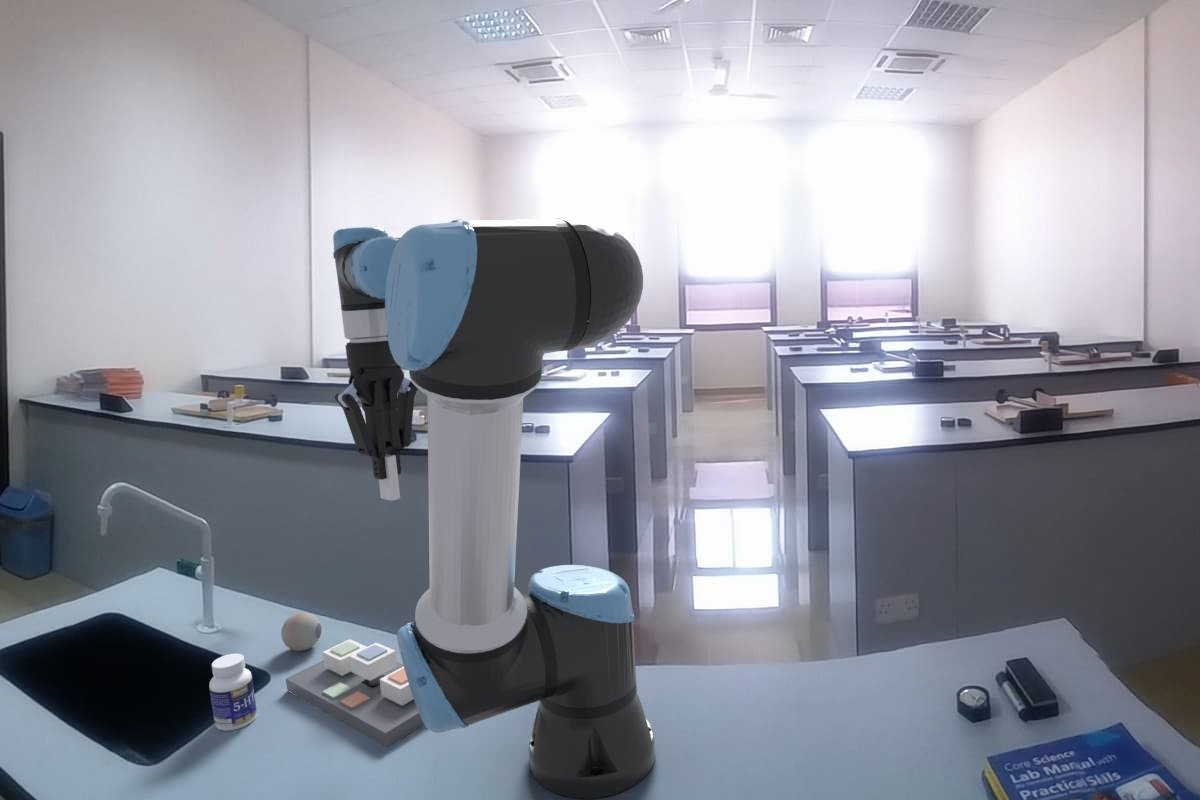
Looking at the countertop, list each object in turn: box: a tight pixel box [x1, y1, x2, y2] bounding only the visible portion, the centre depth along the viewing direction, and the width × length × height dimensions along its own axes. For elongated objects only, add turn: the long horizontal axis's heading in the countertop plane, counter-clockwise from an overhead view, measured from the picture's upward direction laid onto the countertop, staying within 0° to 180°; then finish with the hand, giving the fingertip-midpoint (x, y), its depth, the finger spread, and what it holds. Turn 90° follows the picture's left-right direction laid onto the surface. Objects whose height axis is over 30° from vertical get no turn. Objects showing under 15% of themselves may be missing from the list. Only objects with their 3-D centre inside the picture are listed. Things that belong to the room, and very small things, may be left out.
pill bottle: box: [208, 653, 258, 732], centre depth 105 cm, size 5×5×9 cm
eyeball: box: [280, 611, 322, 652], centre depth 124 cm, size 6×6×6 cm
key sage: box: [322, 638, 367, 676], centre depth 114 cm, size 5×5×5 cm
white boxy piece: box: [349, 642, 398, 686], centre depth 109 cm, size 5×5×5 cm
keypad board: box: [285, 659, 425, 748], centre depth 109 cm, size 24×12×2 cm, turn 51°
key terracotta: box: [380, 666, 414, 706], centre depth 105 cm, size 5×5×5 cm
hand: (390, 498), depth 113 cm, fingers closed
